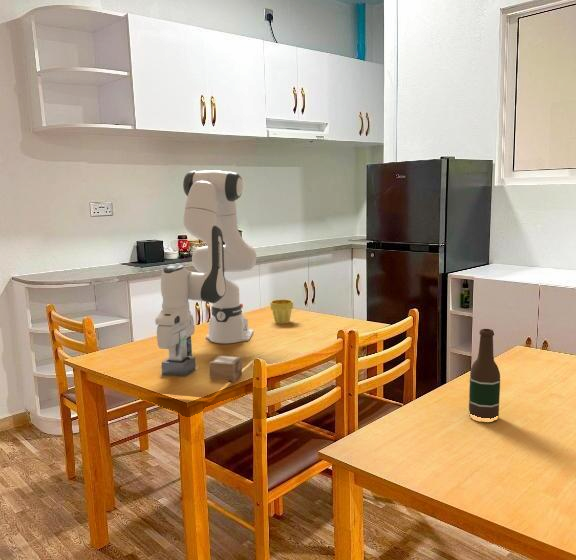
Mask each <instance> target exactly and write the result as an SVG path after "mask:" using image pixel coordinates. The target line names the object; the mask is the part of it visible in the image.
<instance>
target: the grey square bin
mask: <svg viewBox="0 0 576 560" xmlns="http://www.w3.org/2000/svg"><path fill="white" fill-rule="evenodd" d="M199 368H200V367H199V366H196V357H195V356H193V355H192V356H187V360H186V361H185V362H183V363H178V362H169V357H168V358H165V360H163V361H161V372H160V373H159V374H158V375H159V376H170V377H171V376H172V377H183V378H187V377H188V376H189V375H191V374H192V373H193V372H195V371H196V370H197V369H199Z"/></svg>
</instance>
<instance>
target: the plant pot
mask: <svg viewBox="0 0 576 560" xmlns="http://www.w3.org/2000/svg"><path fill="white" fill-rule="evenodd" d="M269 305H270V310H271V311H272V315H273V319H274V323H275V324H278V323H279V324H280V325H281V324H282V325H284V323H285V324H288V322H289V323H290V320H291V316H292V315H291V314H292V310H293V308H294V302H293V300H291V299H286V298H285V299H274V300H271V301H270V304H269Z"/></svg>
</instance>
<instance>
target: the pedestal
mask: <svg viewBox="0 0 576 560" xmlns="http://www.w3.org/2000/svg"><path fill="white" fill-rule="evenodd" d="M242 364H243V363H242V356H232V355H231V356H230V355H218V356H216V357H215V358H213V360H210V362H209V378H210V379H221V380H222V379H223V380H228V381H227V383H234V382H236V381H237V380H238V379H239V378H240V377H241V376H242V375H243V368H242V367H243V365H242Z"/></svg>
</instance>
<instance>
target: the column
mask: <svg viewBox="0 0 576 560" xmlns="http://www.w3.org/2000/svg"><path fill="white" fill-rule="evenodd" d="M186 339H187V336H186V329H184V330H182V331H180V332H179V343H178V344H176V348H175V349H176V351H177V355H178V356H177V357H175V358H172V357H171V353H170V351H169V350H168V358H169V362H178V363H183V362H185V361H186V360H187V341H186Z"/></svg>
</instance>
